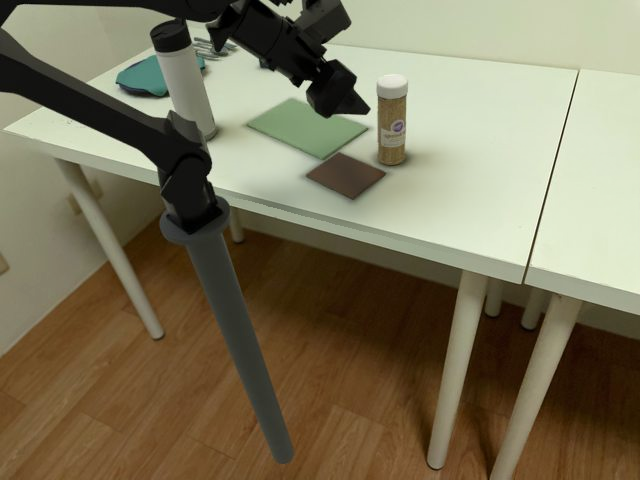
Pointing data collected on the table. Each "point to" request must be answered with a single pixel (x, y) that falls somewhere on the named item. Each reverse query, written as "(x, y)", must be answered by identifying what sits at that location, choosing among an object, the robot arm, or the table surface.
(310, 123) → the green mat
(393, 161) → the sprinkles bottle
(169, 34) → the travel mug
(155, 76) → the cutlery set
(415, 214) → the table surface
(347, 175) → the walnut mat
